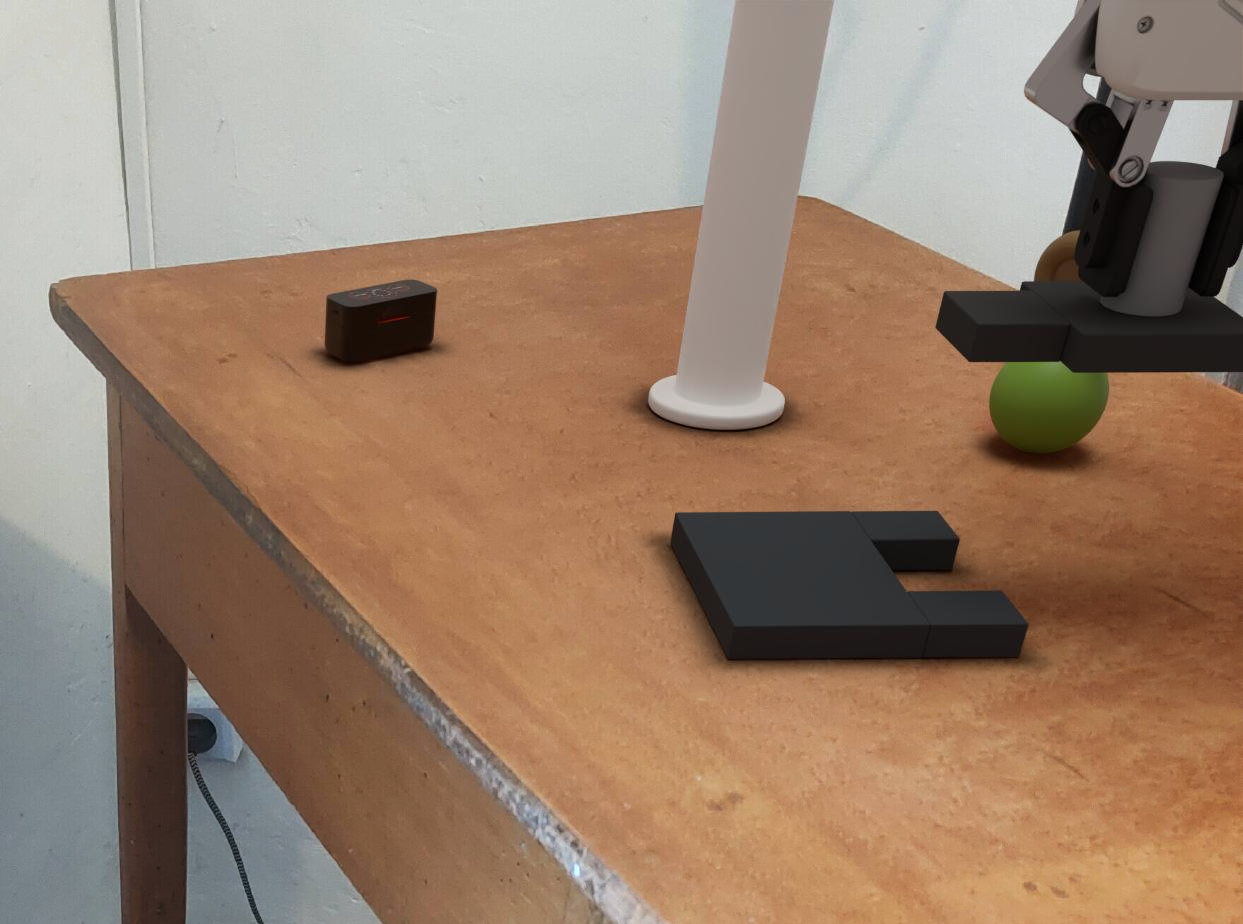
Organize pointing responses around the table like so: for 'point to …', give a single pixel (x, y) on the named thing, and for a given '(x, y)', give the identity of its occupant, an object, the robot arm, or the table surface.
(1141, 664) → the table surface
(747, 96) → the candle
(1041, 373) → the snail figurine
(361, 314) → the black bluetooth speaker
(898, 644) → the dock pad
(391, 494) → the table surface
